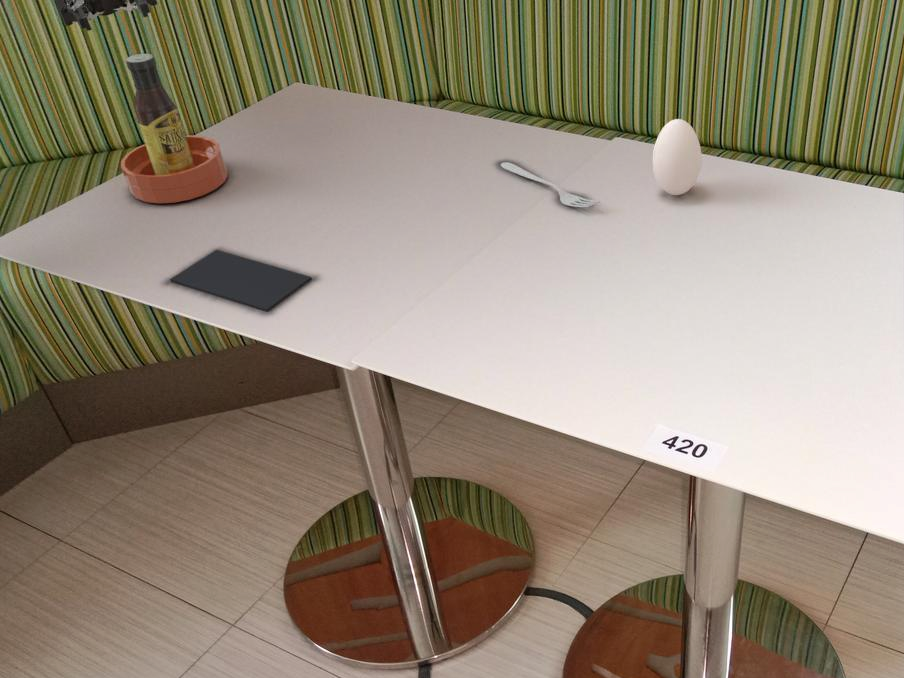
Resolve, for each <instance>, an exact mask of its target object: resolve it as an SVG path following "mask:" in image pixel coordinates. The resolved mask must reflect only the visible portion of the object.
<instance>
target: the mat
mask: <svg viewBox="0 0 904 678" xmlns="http://www.w3.org/2000/svg"><path fill="white" fill-rule="evenodd" d="M169 280H170V282H171V283H173V284H177V285H180V286H183V287H185V288H189V289H192V290H195V291H199V292H202V293H205V294H208V295H212V296H215V297H218V298H222V299H225V300H228V301H230V302H234V303H238V304H241V305H244V306H247V307H250V308H253V309H256V310H260V311H263V312H266V313H268V312H269V311H271V310H272V309H273V308H275V307H276V306H278V305H280V304H281V303H282V302H283V301H285V300H286V299H288V298H289V297H290V296H292V295H293V294H294V293H296V292H297V291H299V289H301V288H303V287H304V286H305V285H307V284H308V283H309V282H311V281H312V280H313V279H312V276H309V275H306V274H302V273H299V272H295V271H292V270H289V269H285V268H282V267H278V266H274V265H272V264H268V263H264V262H260V261H257V260H253V259H250V258H247V257H244V256H240V255H236V254H233V253H230V252H226V251H223V250H219V249H215V250H214V251H212V252H210V253H209V254H207V255H205V256H204V257H203V258H201V259H200V260H198V261H196V262H194V264H192V265H190V266H188V267H187V268H186V269H185V268H184V270H182V271H181V272H179V273H178V274H176V275H174V276H173V277H171V278H170V279H169Z"/></svg>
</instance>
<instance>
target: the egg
mask: <svg viewBox="0 0 904 678" xmlns="http://www.w3.org/2000/svg"><path fill="white" fill-rule="evenodd" d="M652 151H653V152H652V171H653V175H654V177H655V180H656V182H657V184H658V185H659V187H660V188H661V189H662V190H663V191H664V192H666V193H667V194H669V195H671V196H682V195H683V194H686V193H687V192H688V191H689V190H691V188H693V186H694V185H695V184H696V183H697V181H698V178H699V175H700V172H701V170H702V169H701V168H702V149H701V144H700V141H699V138H698V136H697V133H696V132H695V129H694V128H693V127H692V125H691V124H690V123H689V122H687V121H686V120H684V119H681V118H675V119H672V120H670V121H668V122H667V123H666V124H665V125H664V126H663V127H662V128H661V130H660V132H659V134H658V135H657V138H656V141H655V143H654V147H653V150H652Z"/></svg>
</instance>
